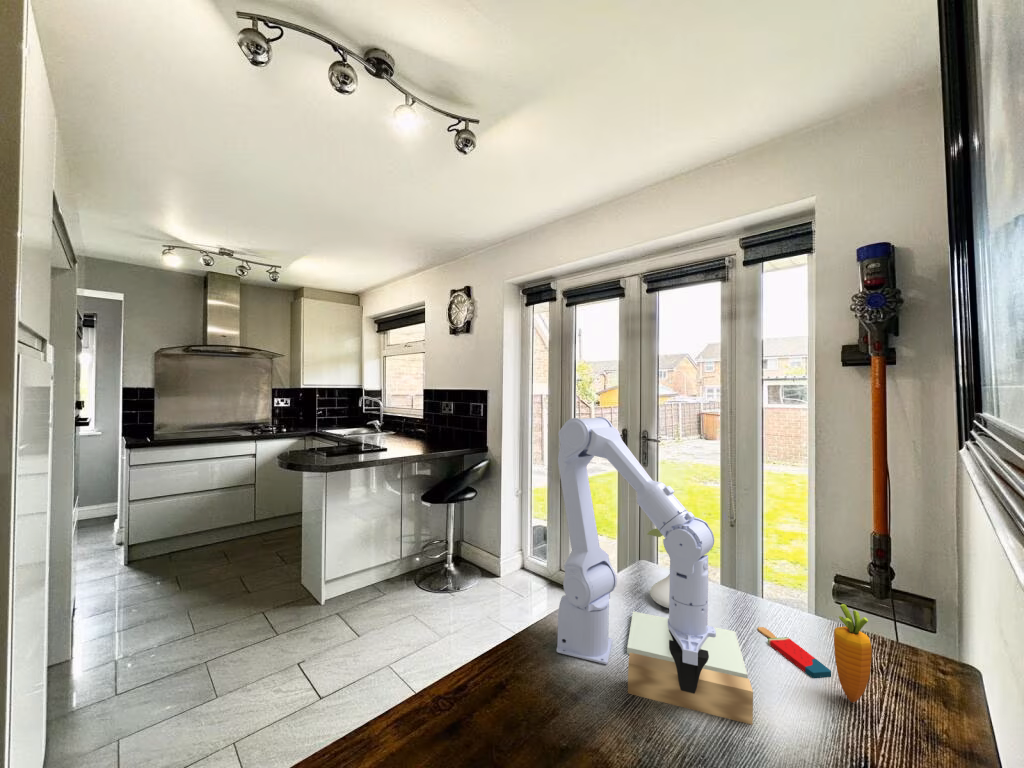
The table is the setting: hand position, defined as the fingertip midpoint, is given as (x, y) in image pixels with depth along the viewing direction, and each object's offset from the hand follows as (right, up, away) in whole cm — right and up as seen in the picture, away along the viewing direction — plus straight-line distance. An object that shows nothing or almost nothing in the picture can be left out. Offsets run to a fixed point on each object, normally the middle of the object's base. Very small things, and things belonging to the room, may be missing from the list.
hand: (687, 683), depth 67 cm
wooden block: (0, -3, 0) cm, 3 cm away
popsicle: (+25, -4, +14) cm, 29 cm away
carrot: (+27, -4, +1) cm, 27 cm away
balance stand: (+6, -3, +15) cm, 16 cm away
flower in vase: (+10, -4, +32) cm, 33 cm away
